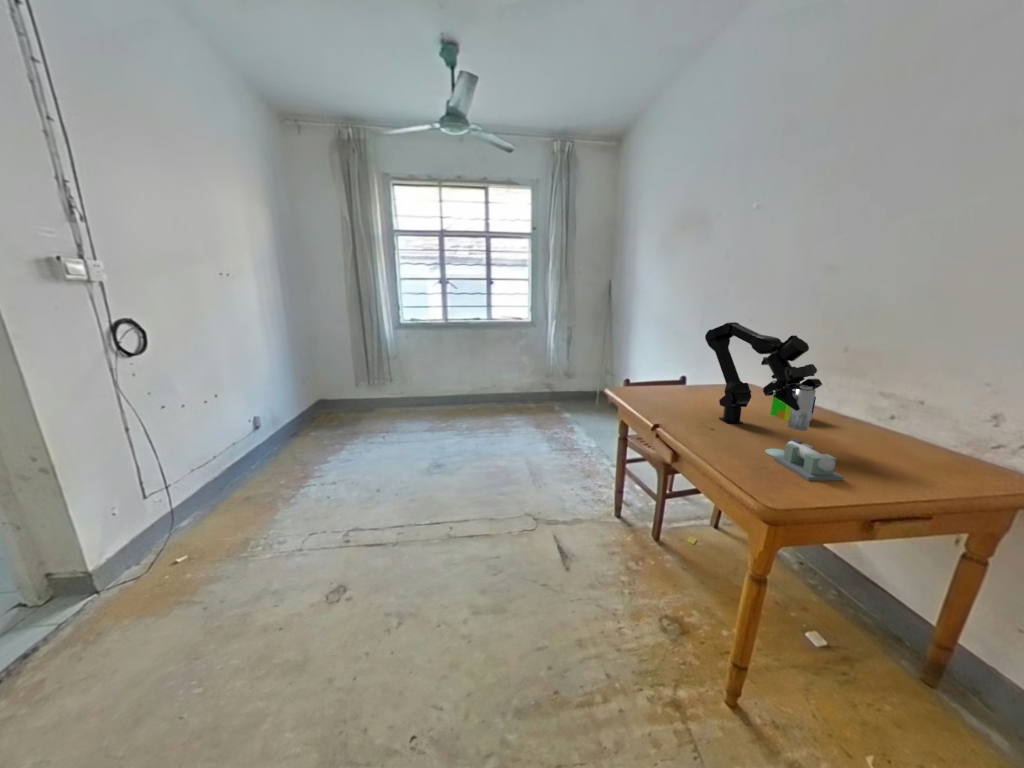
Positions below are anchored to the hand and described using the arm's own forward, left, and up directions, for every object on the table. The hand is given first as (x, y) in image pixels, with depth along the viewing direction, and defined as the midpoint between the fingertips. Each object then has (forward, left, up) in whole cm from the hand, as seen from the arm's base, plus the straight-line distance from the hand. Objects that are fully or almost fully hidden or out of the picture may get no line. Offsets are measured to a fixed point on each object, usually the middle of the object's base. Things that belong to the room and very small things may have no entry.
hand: (805, 409), depth 132 cm
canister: (-1, 0, -7) cm, 7 cm away
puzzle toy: (-34, +22, -14) cm, 42 cm away
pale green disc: (+4, -9, -13) cm, 17 cm away
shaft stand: (+16, -9, -13) cm, 23 cm away
